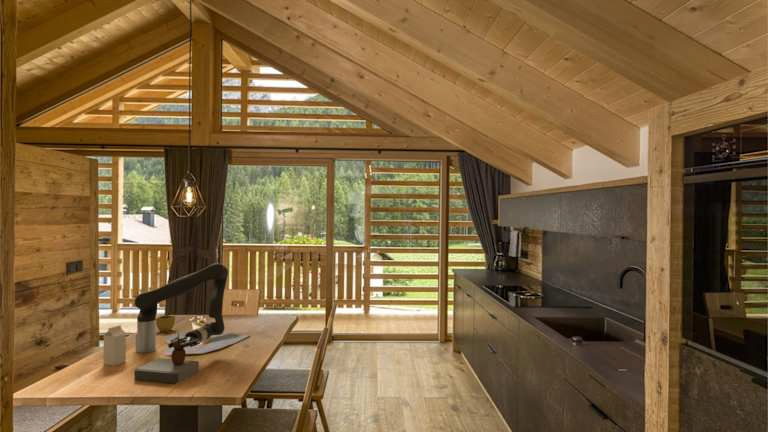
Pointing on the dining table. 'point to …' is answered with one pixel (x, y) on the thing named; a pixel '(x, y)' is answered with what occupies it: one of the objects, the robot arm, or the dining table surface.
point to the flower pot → (165, 323)
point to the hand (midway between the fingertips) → (175, 346)
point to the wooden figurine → (178, 353)
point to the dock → (166, 371)
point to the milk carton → (115, 346)
